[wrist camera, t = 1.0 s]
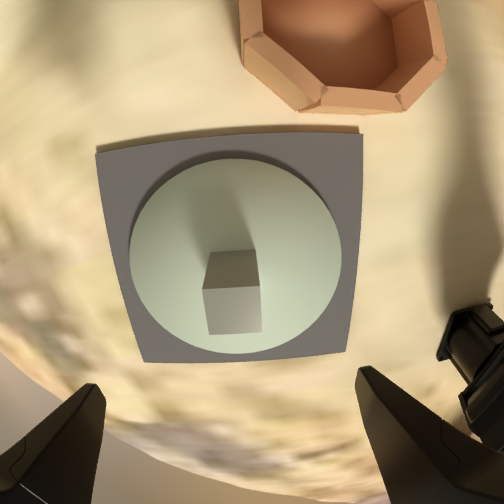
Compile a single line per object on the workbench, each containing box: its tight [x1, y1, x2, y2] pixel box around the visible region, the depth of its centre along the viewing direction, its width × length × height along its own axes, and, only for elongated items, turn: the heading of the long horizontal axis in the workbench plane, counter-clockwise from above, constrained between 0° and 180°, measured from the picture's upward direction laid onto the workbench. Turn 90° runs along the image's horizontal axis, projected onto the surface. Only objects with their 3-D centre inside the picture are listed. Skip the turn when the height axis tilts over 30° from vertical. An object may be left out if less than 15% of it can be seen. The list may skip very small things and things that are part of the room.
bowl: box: [238, 0, 447, 116], centre depth 13 cm, size 11×11×6 cm
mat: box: [95, 132, 363, 363], centre depth 21 cm, size 18×18×1 cm
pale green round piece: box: [129, 159, 341, 354], centre depth 18 cm, size 15×15×6 cm
